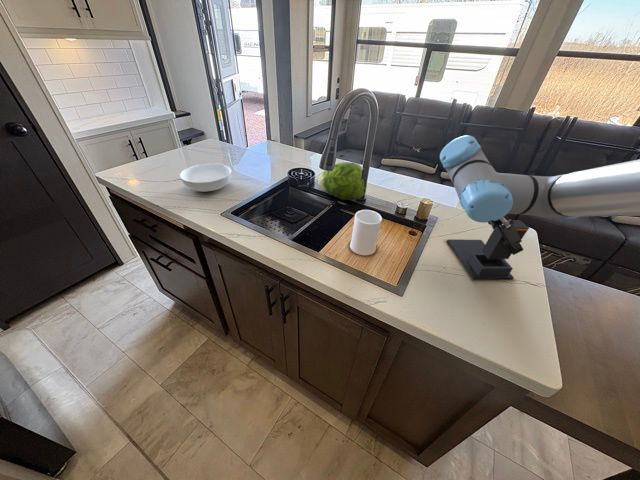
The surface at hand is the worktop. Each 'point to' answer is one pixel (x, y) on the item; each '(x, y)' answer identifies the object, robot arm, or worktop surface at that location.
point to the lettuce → (343, 181)
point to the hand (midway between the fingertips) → (512, 246)
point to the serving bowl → (206, 177)
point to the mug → (365, 232)
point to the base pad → (480, 261)
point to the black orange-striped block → (495, 242)
